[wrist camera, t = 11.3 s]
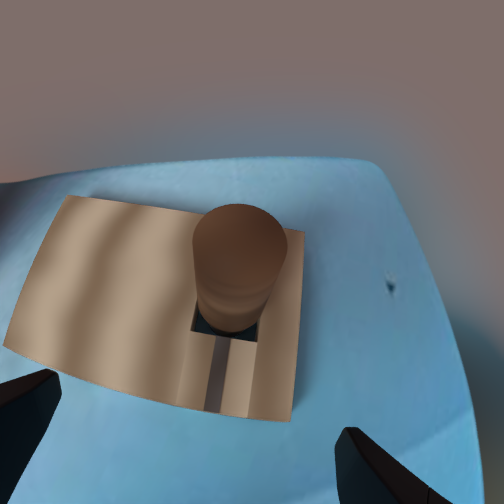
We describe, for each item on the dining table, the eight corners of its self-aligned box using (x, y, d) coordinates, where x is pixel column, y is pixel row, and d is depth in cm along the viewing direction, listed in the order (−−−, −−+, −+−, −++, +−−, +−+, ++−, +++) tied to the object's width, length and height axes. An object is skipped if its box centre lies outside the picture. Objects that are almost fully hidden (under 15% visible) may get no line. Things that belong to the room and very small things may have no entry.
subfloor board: (297, 247, 28) (304, 231, 26) (282, 422, 20) (290, 421, 18) (75, 211, 27) (67, 194, 25) (18, 353, 19) (2, 345, 17)
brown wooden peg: (267, 326, 24) (306, 253, 14) (221, 357, 22) (228, 303, 13) (234, 283, 25) (250, 191, 16) (188, 311, 24) (175, 228, 14)
